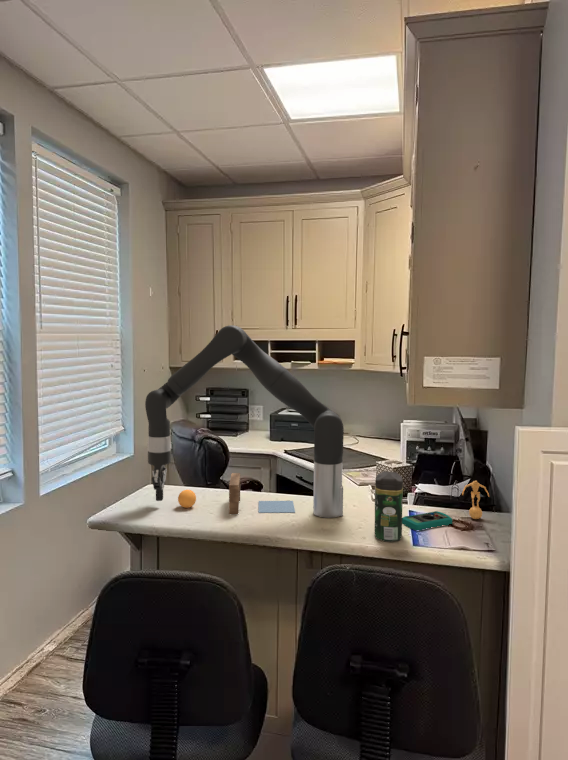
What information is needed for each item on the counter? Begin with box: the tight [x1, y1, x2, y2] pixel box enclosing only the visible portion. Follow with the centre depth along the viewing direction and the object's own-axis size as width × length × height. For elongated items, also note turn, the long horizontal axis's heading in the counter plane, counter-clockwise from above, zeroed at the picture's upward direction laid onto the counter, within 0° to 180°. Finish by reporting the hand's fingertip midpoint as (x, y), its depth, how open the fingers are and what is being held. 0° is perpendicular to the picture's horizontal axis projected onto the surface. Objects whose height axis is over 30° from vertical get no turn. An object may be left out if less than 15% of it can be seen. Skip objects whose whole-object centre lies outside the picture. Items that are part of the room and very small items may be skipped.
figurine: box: [461, 480, 490, 520], centre depth 166 cm, size 8×6×12 cm
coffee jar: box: [374, 470, 404, 543], centre depth 149 cm, size 10×8×19 cm
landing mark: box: [258, 500, 296, 514], centre depth 175 cm, size 12×12×1 cm
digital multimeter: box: [402, 510, 453, 531], centre depth 160 cm, size 7×15×3 cm, turn 116°
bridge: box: [228, 472, 241, 515], centre depth 174 cm, size 3×15×10 cm, turn 2°
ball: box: [177, 489, 197, 509], centre depth 174 cm, size 6×6×6 cm
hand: (159, 500), depth 173 cm, fingers closed
